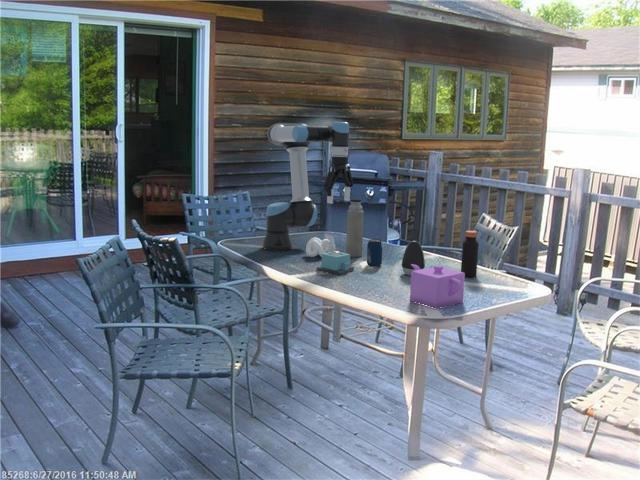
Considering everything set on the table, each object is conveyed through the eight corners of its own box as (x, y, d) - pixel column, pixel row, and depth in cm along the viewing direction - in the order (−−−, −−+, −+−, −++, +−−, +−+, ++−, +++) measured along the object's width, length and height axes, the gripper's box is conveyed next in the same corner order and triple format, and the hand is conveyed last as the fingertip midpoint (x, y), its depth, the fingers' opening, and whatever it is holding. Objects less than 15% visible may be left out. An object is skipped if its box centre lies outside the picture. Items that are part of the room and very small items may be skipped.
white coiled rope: (301, 257, 316) (301, 239, 314) (310, 253, 327) (311, 235, 325) (322, 260, 312) (323, 241, 310) (331, 255, 322) (332, 237, 321)
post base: (316, 270, 290) (316, 252, 288) (332, 266, 299) (332, 248, 297) (338, 274, 283) (339, 255, 281) (353, 270, 292) (354, 251, 290)
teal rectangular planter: (354, 268, 289) (354, 255, 288) (340, 271, 283) (340, 258, 281) (331, 263, 298) (331, 250, 297) (317, 265, 292) (317, 252, 291)
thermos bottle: (346, 253, 328) (348, 198, 323) (362, 253, 327) (364, 198, 322) (345, 256, 320) (347, 200, 315) (361, 257, 320) (363, 200, 314)
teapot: (422, 291, 260) (424, 257, 257) (473, 306, 241) (475, 269, 238) (396, 297, 250) (397, 261, 248) (446, 313, 231) (448, 274, 229)
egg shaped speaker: (426, 273, 290) (428, 239, 287) (422, 278, 280) (424, 243, 277) (403, 270, 293) (405, 237, 290) (398, 275, 284) (400, 241, 281)
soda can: (383, 265, 304) (384, 239, 301) (378, 268, 297) (379, 242, 295) (369, 263, 306) (370, 238, 304) (364, 266, 300) (365, 240, 298)
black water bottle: (478, 277, 283) (481, 232, 280) (463, 278, 282) (467, 232, 278) (472, 274, 290) (475, 230, 286) (458, 274, 289) (461, 230, 285)
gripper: (330, 157, 286) (329, 205, 290) (361, 155, 305) (360, 200, 309) (317, 156, 290) (316, 203, 294) (348, 154, 310) (347, 198, 314)
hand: (338, 202), depth 302 cm, fingers open, 13 cm apart
